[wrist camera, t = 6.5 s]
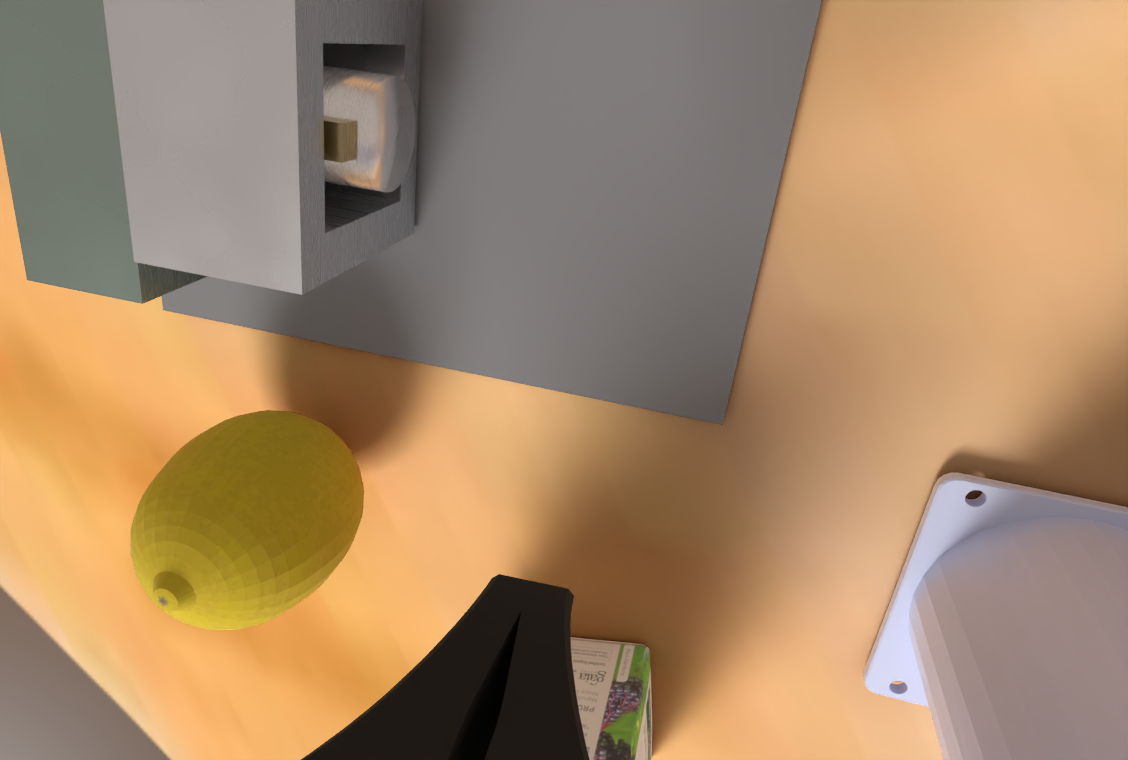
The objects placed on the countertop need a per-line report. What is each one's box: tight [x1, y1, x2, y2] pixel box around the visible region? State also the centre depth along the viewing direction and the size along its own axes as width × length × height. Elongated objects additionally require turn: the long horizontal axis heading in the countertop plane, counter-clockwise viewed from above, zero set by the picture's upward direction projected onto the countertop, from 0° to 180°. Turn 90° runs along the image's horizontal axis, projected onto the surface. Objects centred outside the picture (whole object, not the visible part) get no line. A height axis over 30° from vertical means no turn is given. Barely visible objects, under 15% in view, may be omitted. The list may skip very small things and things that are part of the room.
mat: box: [162, 0, 822, 425], centre depth 21 cm, size 18×14×1 cm
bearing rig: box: [0, 0, 415, 304], centre depth 18 cm, size 8×8×6 cm
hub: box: [103, 0, 423, 295], centre depth 18 cm, size 4×6×6 cm, turn 173°
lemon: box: [131, 410, 364, 630], centre depth 22 cm, size 6×6×8 cm
